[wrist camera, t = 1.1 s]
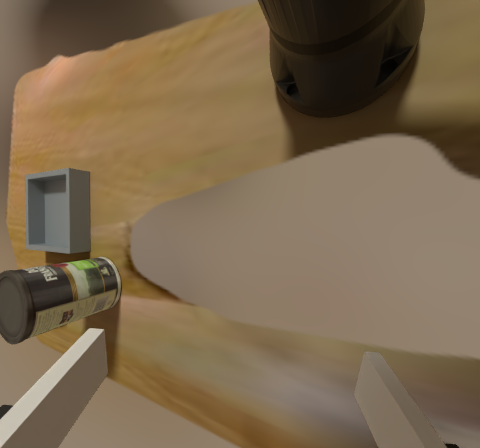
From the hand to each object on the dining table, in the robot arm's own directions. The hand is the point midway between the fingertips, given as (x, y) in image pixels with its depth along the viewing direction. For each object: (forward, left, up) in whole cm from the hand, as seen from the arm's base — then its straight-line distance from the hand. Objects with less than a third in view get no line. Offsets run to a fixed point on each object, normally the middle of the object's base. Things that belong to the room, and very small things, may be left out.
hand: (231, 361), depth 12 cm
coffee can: (+5, -38, -19) cm, 43 cm away
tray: (-9, -50, -19) cm, 54 cm away
